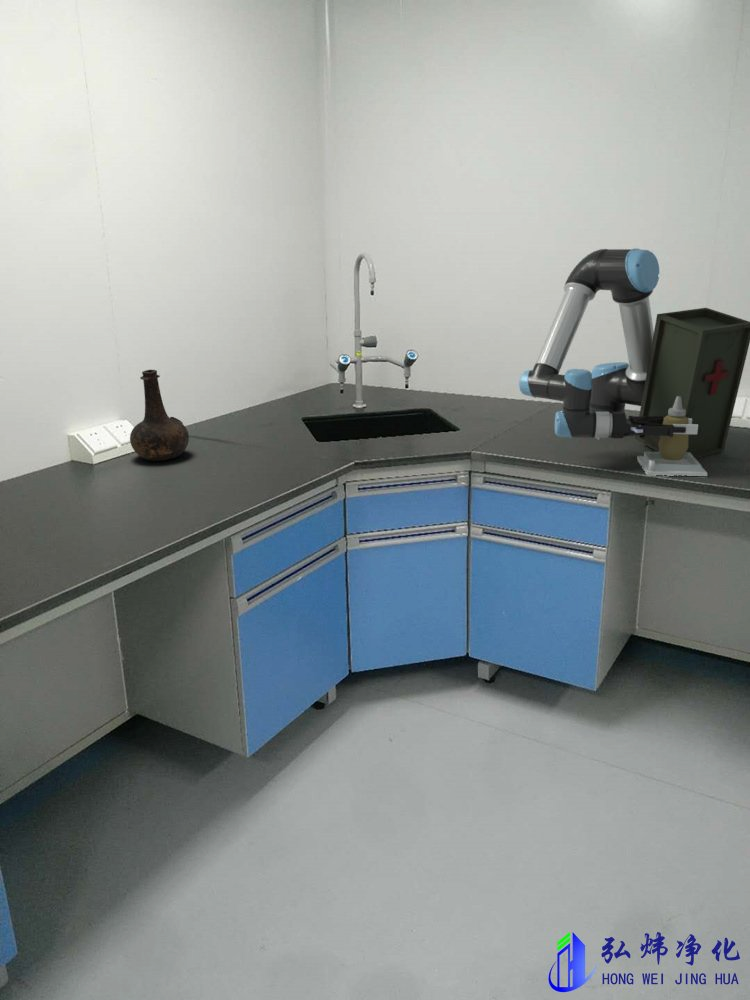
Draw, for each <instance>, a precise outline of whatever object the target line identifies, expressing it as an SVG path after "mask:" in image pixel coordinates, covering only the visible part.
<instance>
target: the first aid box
mask: <svg viewBox="0 0 750 1000" xmlns="http://www.w3.org/2000/svg"><path fill="white" fill-rule="evenodd" d="M653 330H654V335H653V341H652V346H651V352H650V358H649V363H648V369H647V375H646V380H645V386H644V392H643V397H642V403H641V406H640V408H639V414H638V416H663V417H664V415H668V410H669V408H673V405H674V403H675V400H676V397H677V396H681V400H682V408H683V409H686V415H685V416H686V417H687V418H692V424H698V431H697V434H688V449H687V451H686V452H690V453H691V454H692V455H693V456H694V457H696V458H700V457H699V456H702V457H705V456H710V455H715V454H719V453H724V451H725V447H726V442H727V438H728V436H729V435H728V434H729V430H730V426H731V423H732V422H731V421H732V419H733V413H734V408H735V405H736V402H737V396H738V393H739V388H740V384H741V380H742V377H743V376H742V375H743V373H744V367H745V363H746V359H747V355H748V351H749V346H750V321H749V320H747V319H742V318H740V317H736V316H733V315H730V314H727V313H724V312H720V311H718V310H714V309H711V308H708V307H703V308H694V309H687V310H686V309H685V310H679V311H678V310H677V311H669V312H662V313H657V314H656V318H655V325H654V328H653ZM634 439H635V440H636V441H638V442H639V443H642V444H644V445H645V446H647V447H648V448H651V449H652V450H654V451H655V452H660V451H659V446H658V443H659V439H660V436H655V435H638V436H637V435H635V437H634Z"/></svg>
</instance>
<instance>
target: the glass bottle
mask: <svg viewBox="0 0 750 1000" xmlns="http://www.w3.org/2000/svg"><path fill="white" fill-rule="evenodd" d="M141 374H142V375H141V376H140V380H143V382H142V383H143V390H144V391H143V392H144V417H143V420H142V421H140V422H139V423H137V424H136V425H135V426H134V427H133V428H132V430H131V432H130V435H129V443H130V445H131V448H132V449H133V450H134V452H135V453H136V454H137V455H138V456H140V458H143V459H144V460H147V461H152V462H161V461H164V462H165V461H170V460H172V459H173V460H174V459H175V458H177V457H179V456H180V455H182V454H183V453H184V451H185V450H186V449H187V447H188V444H189V440H190V437H189V436H190V435H189V431H188V429H187V427H186V426H185V425H184V424H183V421H182V420H180V419H179V418H178V417H177V418H176V417H174V416H169V415H168V413H167V412H166V409H165V405H164V403H163V400H162V395H161V394H162V393H161V389H160V385H159V379H158V378H160V377H161V375H159V374H158V371H157V370H156V369H146V370H144V371H142V372H141Z"/></svg>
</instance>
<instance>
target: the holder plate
mask: <svg viewBox="0 0 750 1000" xmlns="http://www.w3.org/2000/svg"><path fill="white" fill-rule="evenodd" d="M636 459H637V462H638V464H639V465H640V467H641V466H642V467H641V468H642V471H645V472H644V473H645V475H646V476H647V477H657V476H656V475H663V476H662V477H665V476H664V475H667V476H666V477H669V476H674V475H677V476H678V475H682V476H684V475H687V476H707V477H708V472H707V471H706V470H705V468H703V466H702V464H701V463H700V462H699V461H698V460H697V458H694V456H693V455H692V454H691V453H690V452H686V453H685V455H684V457H683V459H681V460H667V459H663V458H662V457H661V455H660V452H657V451H644V452H643V455H637V458H636Z"/></svg>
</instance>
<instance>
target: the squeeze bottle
mask: <svg viewBox="0 0 750 1000" xmlns="http://www.w3.org/2000/svg"><path fill="white" fill-rule="evenodd" d="M685 415H686V409H683V408H682V400H681V396H677V397H676V400H675V403H674V405H673V408H669V410H668V415H667V416H666V417H664V421H663V424H665V425H673V424H689V419H688V418H687V417H686V416H685ZM658 446H659V451H660V455H661V457H662V458H663V459H667V460H681V459H683V457H684V455H685V453H686V451H687V449H688V434H673V437H670V436H660V439H659V443H658Z"/></svg>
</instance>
